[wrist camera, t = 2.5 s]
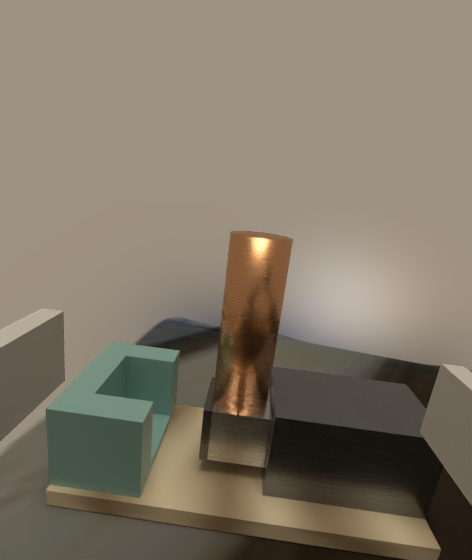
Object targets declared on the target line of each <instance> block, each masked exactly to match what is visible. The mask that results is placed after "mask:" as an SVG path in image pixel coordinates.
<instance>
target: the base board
mask: <svg viewBox="0 0 472 560" xmlns="http://www.w3.org/2000/svg"><path fill="white" fill-rule="evenodd" d="M203 411H204V408H200V407H192V406H185V405H178V404H176V407H175V409H174V412H173V415H172V417H171V420H170V422H169V425H168V427H167V430H166V433H165V435H164V438H163V440H162V443H161V445H160V448H159V450H158V453H157V456H156V458H155V461H154V463H153V466H152V468H151V471H150V473H149V476H148V479H147V481H146V484H145V486H144V489H143V491H142V494H141V497H140V498H135V497H128V496H122V495H115V494H108V493H102V492H95V491H88V490H82V489H75V488H68V487H62V486H55V485H49V486H48V488H47V489H46V504H47V505H51V506H58V507H65V508H71V509H78V510H84V511H91V512H97V513H104V514H111V515H117V516H124V517H130V518H137V519H143V520H150V521H157V522H163V523H170V524H176V525H183V526H189V527H196V528H202V529H209V530H216V531H222V532H229V533H235V534H242V535H248V536H255V537H262V538H268V539H275V540H281V541H288V542H294V543H301V544H307V545H314V546H321V547H327V548H334V549H340V550H347V551H353V552H360V553H367V554H373V555H380V556H386V557H393V558H399V559H406V560H437V559H438V557H439V554H440V551H441V549H440V547H439V545H438V543H437V541H436V539H435V537H434V535H433V533H432V531H431V530H430V528H429V526H428V524H427V522H426V520H425V519H420V518H413V517H406V516H400V515H393V514H386V513H379V512H373V511H366V510H359V509H352V508H345V507H339V506H332V505H325V504H318V503H312V502H305V501H298V500H291V499H285V498H278V497H271V496H264V495H262V467H256V466H249V465H242V464H235V463H228V462H221V461H214V460H207V461H206V460H199V451H200V441H201V431H202V421H203Z"/></svg>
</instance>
